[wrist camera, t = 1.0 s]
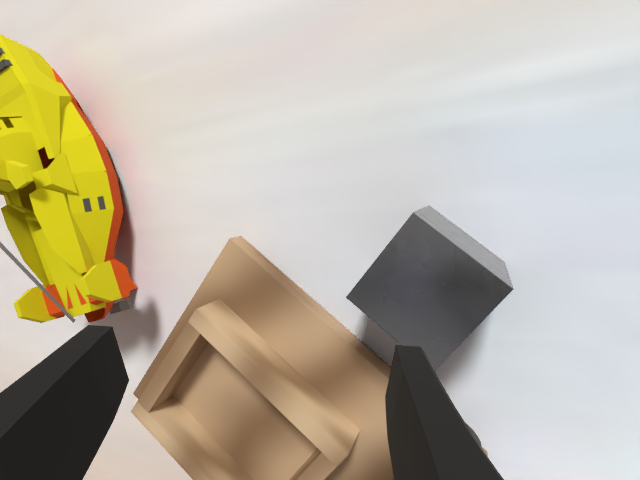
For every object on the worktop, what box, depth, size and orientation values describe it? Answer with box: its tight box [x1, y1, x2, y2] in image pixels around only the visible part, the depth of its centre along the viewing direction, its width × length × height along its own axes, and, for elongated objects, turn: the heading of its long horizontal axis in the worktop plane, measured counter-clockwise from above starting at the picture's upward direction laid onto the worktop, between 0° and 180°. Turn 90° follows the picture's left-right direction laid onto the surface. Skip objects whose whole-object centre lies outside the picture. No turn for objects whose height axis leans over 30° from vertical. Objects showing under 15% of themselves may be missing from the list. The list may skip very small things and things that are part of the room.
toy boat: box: [0, 35, 138, 323], centre depth 24 cm, size 6×18×10 cm, turn 18°
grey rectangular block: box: [346, 206, 513, 371], centre depth 18 cm, size 4×4×6 cm
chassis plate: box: [131, 236, 487, 480], centre depth 24 cm, size 18×16×3 cm
